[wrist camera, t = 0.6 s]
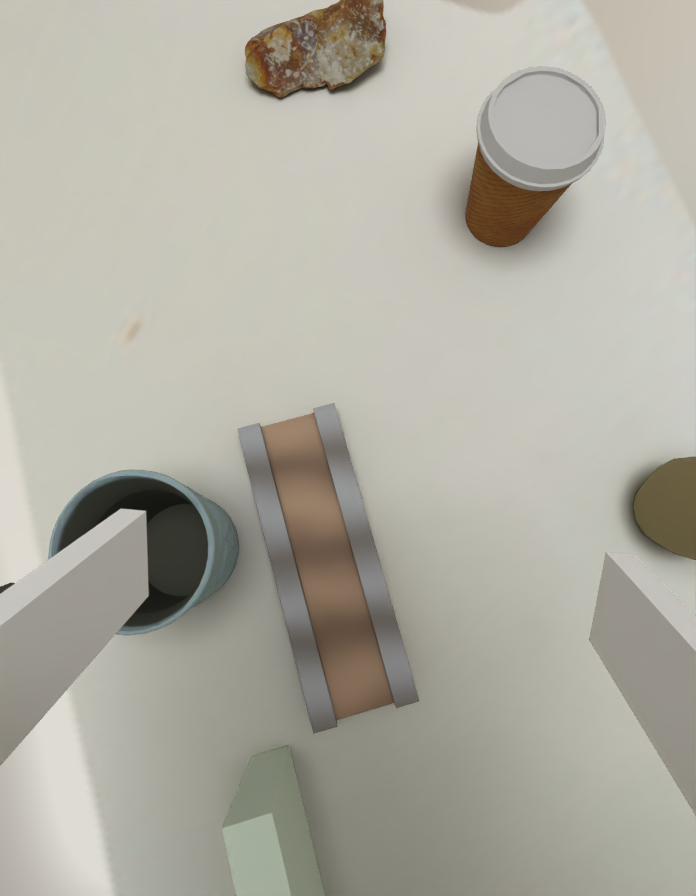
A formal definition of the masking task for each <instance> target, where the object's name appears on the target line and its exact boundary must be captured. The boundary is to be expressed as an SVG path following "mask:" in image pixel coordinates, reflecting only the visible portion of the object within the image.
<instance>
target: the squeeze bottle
mask: <svg viewBox="0 0 696 896" xmlns="http://www.w3.org/2000/svg"><path fill="white" fill-rule="evenodd" d="M633 509H634V515H635V520H636V522H637V524H638V525H639V527H640V528H641V530H642V532H643V533H644V534H645V535H647V536H648V537H649V538H651V539H652V540H653V541H654V542H656V543H658V544H659V545H661V546H663V547H664V548H666V549H668V550H669V551H671V552H673V553H674V554H677V555H680V556H684V557H687V558H690V559H694V560H696V457H688V458H678V459H673V460H671V461H669V462H667V463H666V464H664V465H662V466H660V467H658V468H657V469H656V470H655V471H654V472H653V473H652V475H651V476H650V477H649V478H648V479H647V480H646V481H645V482H644V483H643V485H642V486H641V487H640V489H639V490H638V492H637V493H636V495H635V500H634V505H633Z"/></svg>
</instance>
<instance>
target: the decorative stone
mask: <svg viewBox="0 0 696 896" xmlns="http://www.w3.org/2000/svg"><path fill="white" fill-rule="evenodd" d="M385 38H386V23H385V20H384V18H383V0H340V1H339V2H338V3H336V4H334V5H331V6H329V7H328V8H325V9H321V10H315V11H312V12H310V13H308V14H306V15H304V16H302V17H298V18H295V19H292V20H290V21H287V22H283V23H280V24H277V25H274V26H271V27H269V28H267V29H265V30H263V31H261V32H260V33H259V34H258V35H257V36H255V37H253V38H251V40H250V41H248V43H247V45H246V47H245V55H246V71H247V75H248V77H249V79H251V80H252V81H253V82H254V83H255V84H256V85H257V86H258V87H259V88H261V89H265V90H266V91H271V92H272V93H273V94H274V95H276V96H277V97H284V96H286V95H287V94H289V93H290V92H293V91H296V90H298V89H300V88H315V87H322V86H324V85H325V84H326V83H327V85H328V88H329V90H333V89H334V88H337V87H339V86H341V85H344V84H348V83H351V82H352V81H353V80H354V79H355V78H357V77H358V76H360V75H361V74H362V73H363V72H364V71H365V70H366V69H368V68H370V67H372V66H373V65H374V64H376V63H378V62H379V61H380V60H381V59H382V57H383V54H384V50H385Z"/></svg>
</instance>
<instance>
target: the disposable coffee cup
mask: <svg viewBox="0 0 696 896" xmlns="http://www.w3.org/2000/svg"><path fill="white" fill-rule="evenodd" d="M605 126H606V119H605V111H604V108H603V105H602V103H601V101H600V99H599V97H598V95H597V94H596V93H595V91H594V90H593V89H592V87H591V86H589V85H588V84H587V83H586V82H585V81H583V80H582V79H581V78H579V77H578V76H576V75H574V74H572V73H570V72H568V71H565V70H562V69H559V68H553V67H544V66H539V67H531V68H526V69H523V70H520V71H517V72H515V73H513V74H511V75H510V76H509V77H507V78H506V79H504V80H503V81H502V82H501V83H500V84H499V85H498V87H497V88H496V89H495V90H494V91H492V92H491V93H490V95H489V96H488V97H487V98H486V100H485V101H484V103H483V105H482V107H481V109H480V112H479V115H478V120H477V138H478V147H477V153H476V159H475V164H474V169H473V175H472V181H471V185H470V191H469V198H468V203H467V208H466V222H467V225H468V227H469V229H470V231H471V232H472V233H473V235H474V236H475V237H476V238H478V239H479V240H480V241H482V242H484V243H486V244H488V245H492V246H497V247H506V246H510V245H514V244H516V243H518V242H519V241H521V240H522V239H523V238H524V237H525V236H526V235H527V234H528V233H529V231H530V230H531V229H532V228H533V227H534V226H535V225H536V224H537V222H538V221H539V220H540V219H541V218H542V217H543V216H544V215H545V214H546V213H547V212H548V210H549V209H550V208H551V207H552V206H553V204H554V203H555V202H556V201H557V200H558V199H559V197H560V196H561V195H562V194H563V193H564V192H565V191H566V190H567V188H568V187H569V186H570V185H571V184H572V183H573V182H575V181H577V180H579V179H580V178H581V177H582V176H584V175H585V174H586V173H587V172H589V171H590V170H591V168H592V167H593V166H594V165H595V163H596V162H597V160H598V158H599V156H600V154H601V152H602V148H603V144H604V133H605Z"/></svg>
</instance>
